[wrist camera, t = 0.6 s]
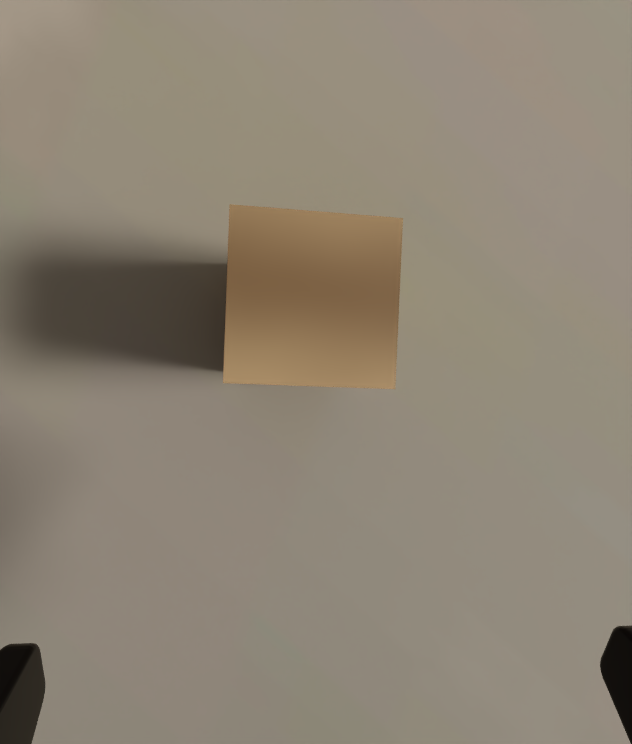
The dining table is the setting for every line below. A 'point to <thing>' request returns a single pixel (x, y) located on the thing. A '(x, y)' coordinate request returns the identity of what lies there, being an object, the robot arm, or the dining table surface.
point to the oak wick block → (312, 298)
